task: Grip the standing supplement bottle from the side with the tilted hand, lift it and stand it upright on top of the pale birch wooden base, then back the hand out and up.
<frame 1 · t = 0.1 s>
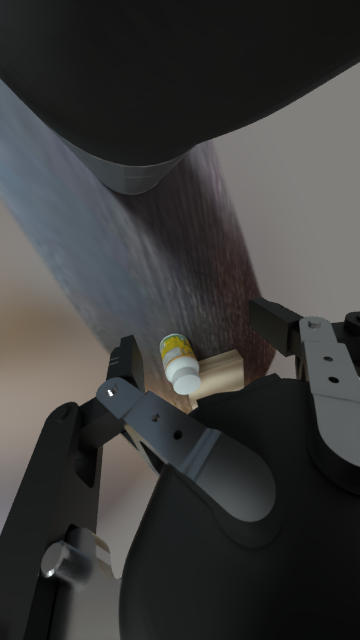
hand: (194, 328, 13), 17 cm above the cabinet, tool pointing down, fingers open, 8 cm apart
supplement bottle: (173, 344, 35), on the cabinet
birch base: (212, 380, 42), on the cabinet
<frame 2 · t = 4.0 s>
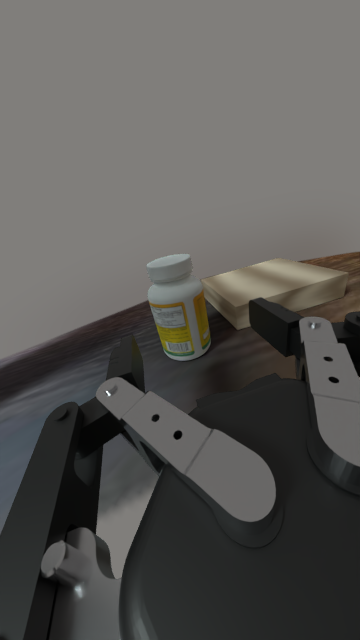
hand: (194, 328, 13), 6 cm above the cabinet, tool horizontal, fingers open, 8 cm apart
supplement bottle: (188, 347, 21), on the cabinet
birch base: (262, 296, 28), on the cabinet
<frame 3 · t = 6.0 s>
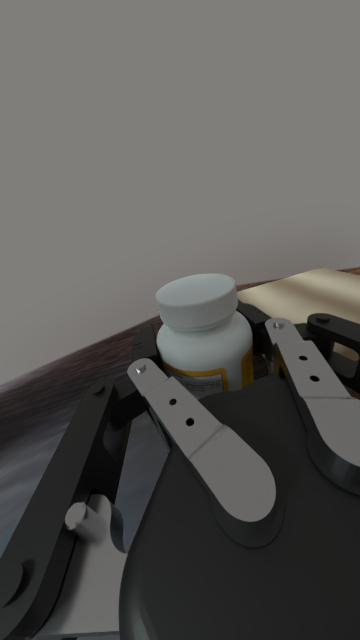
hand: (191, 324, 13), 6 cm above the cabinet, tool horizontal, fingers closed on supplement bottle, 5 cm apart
supplement bottle: (216, 411, 14), on the cabinet, touching gripper
birch base: (308, 322, 20), on the cabinet
when the fingers open (10 cm above the cabinet, at t = 11.3 s): supplement bottle drops 1 cm, resting on birch base.
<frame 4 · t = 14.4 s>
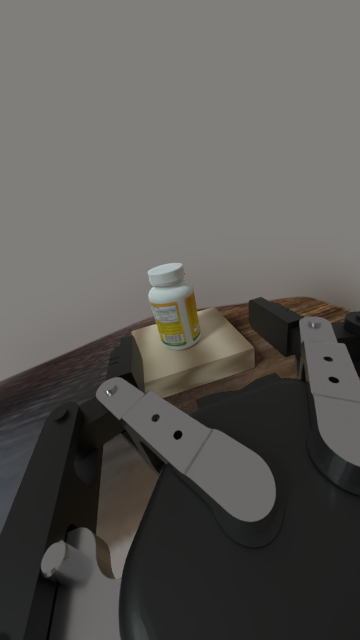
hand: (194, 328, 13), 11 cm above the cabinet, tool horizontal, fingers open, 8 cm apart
supplement bottle: (182, 339, 25), point 3 cm above the cabinet, touching birch base
birch base: (186, 355, 27), on the cabinet
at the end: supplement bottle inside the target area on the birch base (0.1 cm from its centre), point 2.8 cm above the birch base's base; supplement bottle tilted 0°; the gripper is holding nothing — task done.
